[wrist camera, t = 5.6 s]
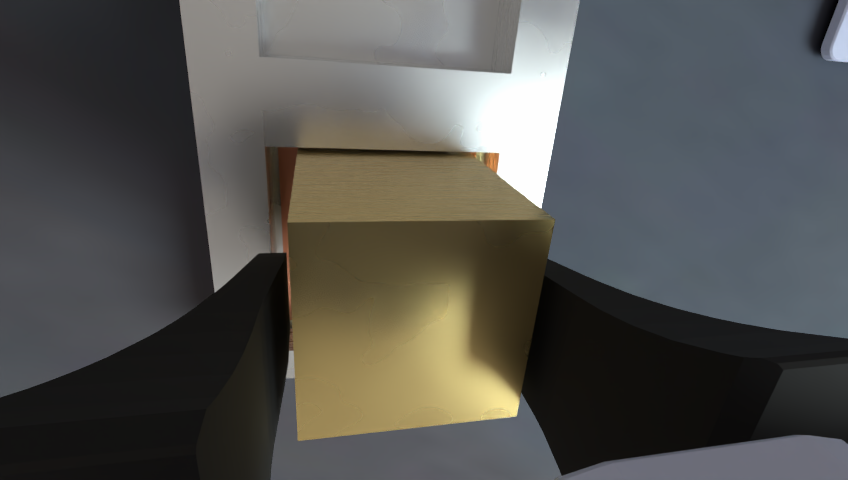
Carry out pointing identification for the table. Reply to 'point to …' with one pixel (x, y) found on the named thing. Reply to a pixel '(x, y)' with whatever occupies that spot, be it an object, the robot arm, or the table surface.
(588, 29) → the table surface
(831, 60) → the robot arm
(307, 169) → the brass block
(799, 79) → the table surface
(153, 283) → the table surface
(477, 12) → the rail
